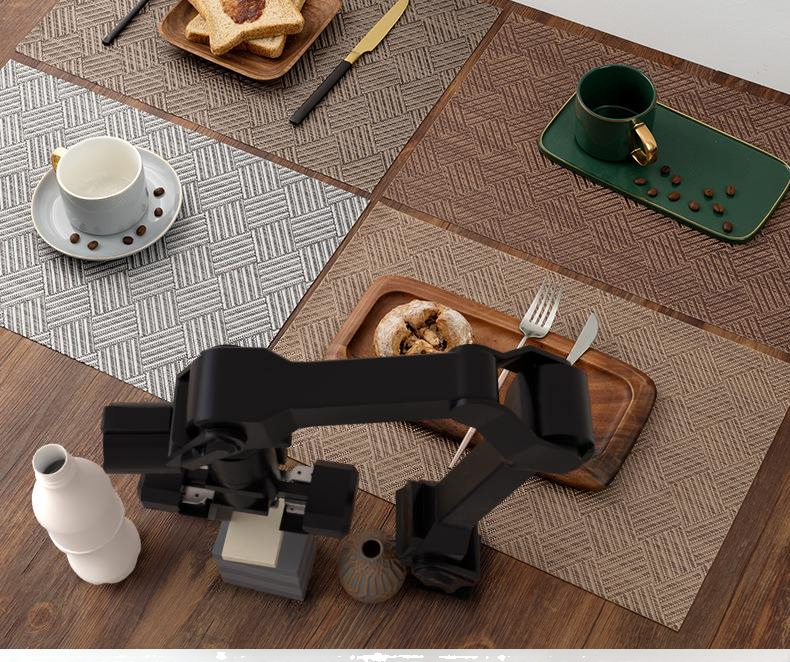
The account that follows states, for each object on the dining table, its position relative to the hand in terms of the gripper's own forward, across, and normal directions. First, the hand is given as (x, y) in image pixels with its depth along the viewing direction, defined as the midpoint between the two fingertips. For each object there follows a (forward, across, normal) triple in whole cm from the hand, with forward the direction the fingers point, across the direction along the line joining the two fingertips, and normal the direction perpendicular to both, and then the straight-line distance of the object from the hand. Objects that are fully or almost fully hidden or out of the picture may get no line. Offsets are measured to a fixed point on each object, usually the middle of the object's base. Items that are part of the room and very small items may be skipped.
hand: (258, 520), depth 106 cm
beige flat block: (+1, 0, 0) cm, 1 cm away
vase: (+13, -11, 0) cm, 17 cm away
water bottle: (+13, +17, +2) cm, 21 cm away
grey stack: (+13, 0, 0) cm, 13 cm away
